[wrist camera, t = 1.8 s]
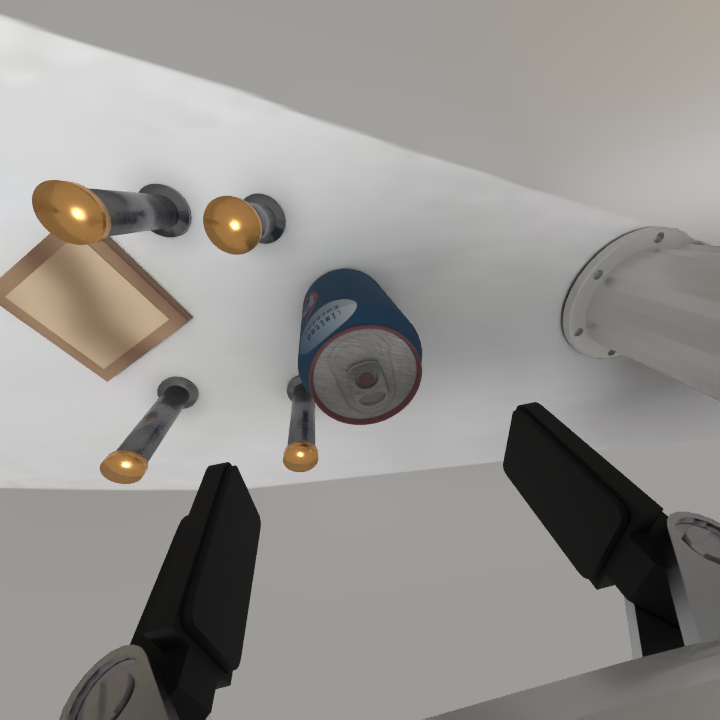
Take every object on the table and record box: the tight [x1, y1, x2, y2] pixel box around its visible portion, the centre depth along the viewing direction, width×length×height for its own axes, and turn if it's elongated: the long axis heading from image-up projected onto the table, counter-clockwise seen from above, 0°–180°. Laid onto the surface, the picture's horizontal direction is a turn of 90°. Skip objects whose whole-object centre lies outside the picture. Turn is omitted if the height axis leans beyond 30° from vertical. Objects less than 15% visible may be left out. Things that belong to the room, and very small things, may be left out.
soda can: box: [298, 269, 422, 425], centre depth 20 cm, size 7×7×12 cm
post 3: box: [203, 194, 285, 254], centre depth 17 cm, size 3×3×9 cm
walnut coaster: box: [0, 233, 192, 382], centre depth 21 cm, size 9×9×1 cm
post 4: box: [283, 376, 318, 472], centre depth 24 cm, size 3×3×9 cm
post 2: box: [100, 377, 198, 484], centre depth 22 cm, size 3×3×9 cm
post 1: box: [32, 180, 191, 245], centre depth 16 cm, size 3×3×9 cm
